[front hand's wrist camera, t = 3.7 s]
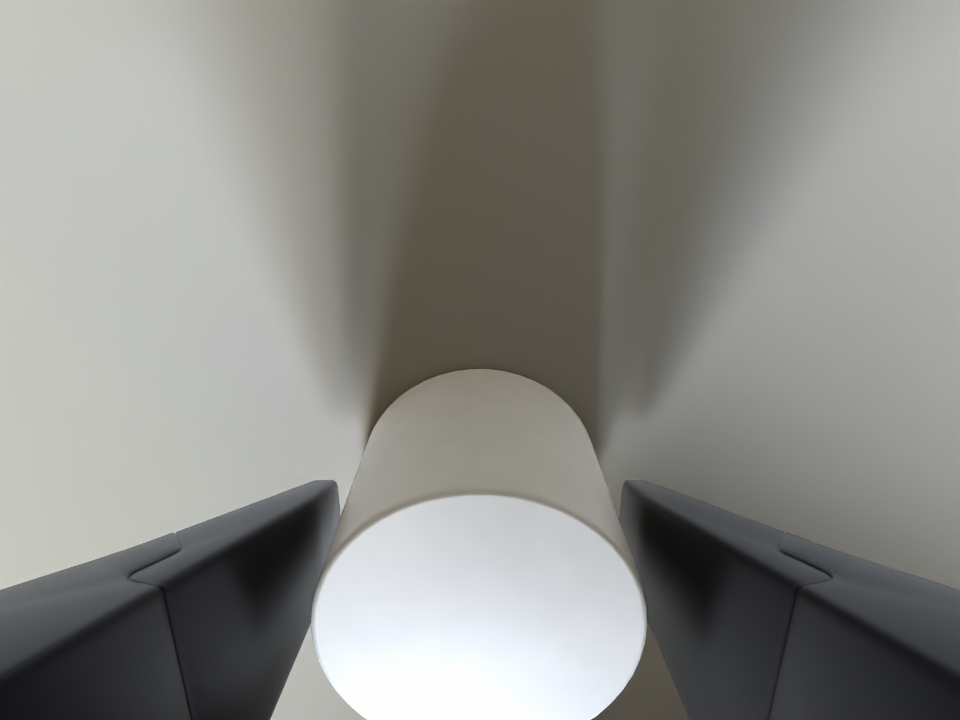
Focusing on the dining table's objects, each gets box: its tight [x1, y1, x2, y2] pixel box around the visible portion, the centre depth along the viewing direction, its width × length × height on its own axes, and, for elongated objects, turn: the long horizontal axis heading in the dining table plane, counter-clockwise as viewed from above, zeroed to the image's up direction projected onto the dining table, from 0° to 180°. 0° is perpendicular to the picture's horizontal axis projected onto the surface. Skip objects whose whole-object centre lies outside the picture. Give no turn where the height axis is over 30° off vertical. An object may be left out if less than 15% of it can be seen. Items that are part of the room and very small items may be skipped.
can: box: [311, 369, 648, 720], centre depth 11 cm, size 5×5×4 cm
